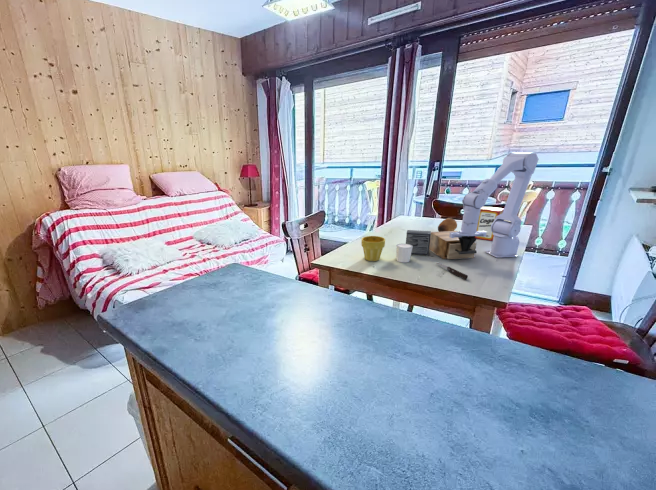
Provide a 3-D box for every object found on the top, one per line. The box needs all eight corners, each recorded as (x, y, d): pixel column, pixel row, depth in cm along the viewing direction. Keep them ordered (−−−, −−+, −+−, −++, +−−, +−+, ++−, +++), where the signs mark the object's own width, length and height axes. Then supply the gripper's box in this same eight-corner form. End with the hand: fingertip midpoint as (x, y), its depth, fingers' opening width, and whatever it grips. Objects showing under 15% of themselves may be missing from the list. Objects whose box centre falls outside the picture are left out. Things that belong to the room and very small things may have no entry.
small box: (428, 251, 157) (431, 230, 154) (428, 255, 152) (431, 234, 148) (405, 249, 162) (407, 229, 158) (404, 253, 156) (406, 232, 152)
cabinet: (471, 257, 147) (474, 239, 144) (443, 259, 147) (445, 240, 144) (453, 247, 161) (456, 230, 158) (428, 249, 161) (430, 232, 158)
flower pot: (371, 264, 146) (372, 243, 142) (356, 258, 155) (356, 238, 151) (388, 259, 150) (390, 239, 147) (372, 253, 159) (373, 234, 155)
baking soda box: (497, 238, 170) (503, 207, 164) (493, 241, 166) (500, 210, 160) (476, 235, 177) (482, 205, 171) (473, 238, 173) (478, 208, 166)
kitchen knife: (467, 280, 126) (468, 275, 125) (465, 280, 125) (466, 275, 125) (436, 264, 142) (436, 260, 141) (434, 264, 142) (434, 260, 141)
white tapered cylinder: (408, 263, 144) (410, 248, 142) (393, 261, 148) (394, 246, 146) (413, 259, 149) (414, 244, 147) (397, 256, 153) (399, 242, 151)
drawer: (480, 261, 140) (483, 246, 137) (453, 262, 140) (456, 247, 138) (457, 248, 157) (459, 234, 154) (433, 249, 157) (435, 236, 154)
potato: (443, 241, 180) (431, 231, 182) (454, 230, 187) (442, 221, 189) (452, 232, 174) (439, 222, 176) (462, 221, 180) (450, 212, 183)
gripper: (481, 219, 140) (475, 249, 145) (447, 220, 140) (443, 250, 145) (492, 223, 133) (485, 254, 138) (456, 224, 133) (451, 256, 138)
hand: (464, 252), depth 141 cm, fingers closed, pressing on drawer
